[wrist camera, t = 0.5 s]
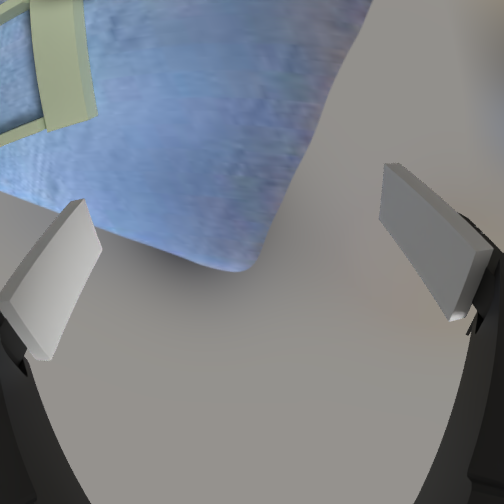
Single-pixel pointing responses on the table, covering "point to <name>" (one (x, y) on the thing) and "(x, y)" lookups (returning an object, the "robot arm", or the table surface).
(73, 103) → the pale green rectangular frame
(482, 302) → the robot arm
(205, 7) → the table surface
